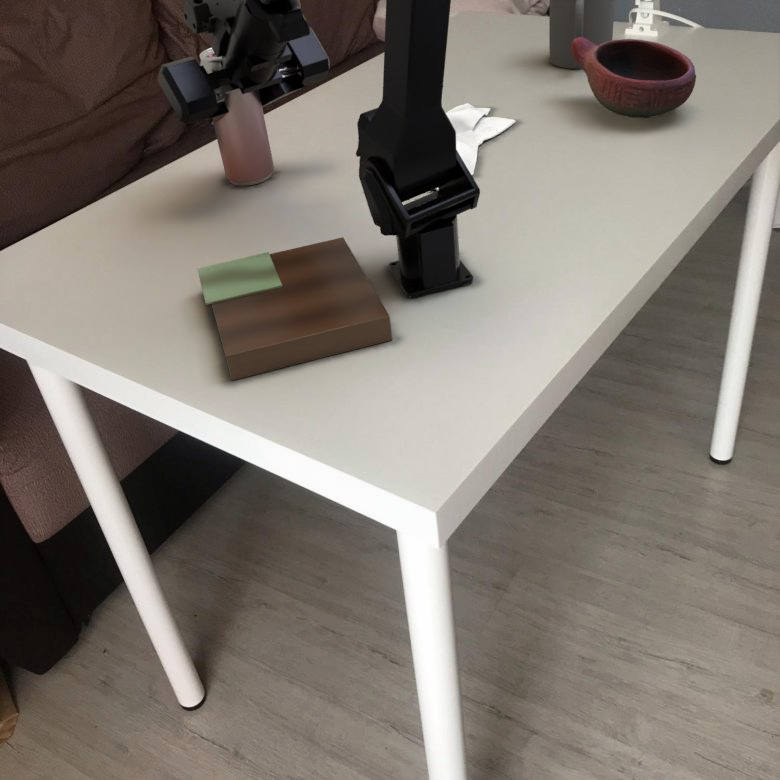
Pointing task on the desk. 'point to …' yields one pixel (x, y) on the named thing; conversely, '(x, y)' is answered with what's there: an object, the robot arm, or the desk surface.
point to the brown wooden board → (293, 307)
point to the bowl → (635, 75)
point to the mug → (578, 27)
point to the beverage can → (241, 133)
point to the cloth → (474, 130)
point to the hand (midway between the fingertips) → (233, 113)
